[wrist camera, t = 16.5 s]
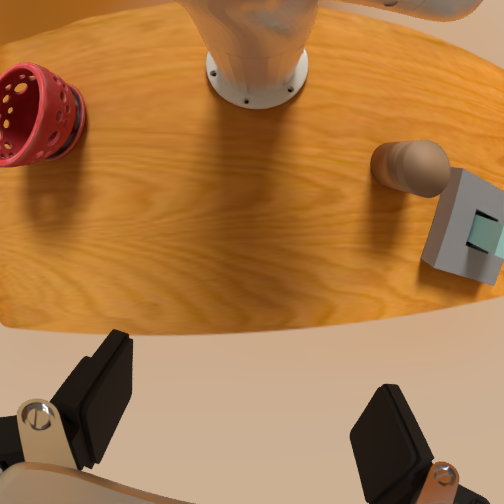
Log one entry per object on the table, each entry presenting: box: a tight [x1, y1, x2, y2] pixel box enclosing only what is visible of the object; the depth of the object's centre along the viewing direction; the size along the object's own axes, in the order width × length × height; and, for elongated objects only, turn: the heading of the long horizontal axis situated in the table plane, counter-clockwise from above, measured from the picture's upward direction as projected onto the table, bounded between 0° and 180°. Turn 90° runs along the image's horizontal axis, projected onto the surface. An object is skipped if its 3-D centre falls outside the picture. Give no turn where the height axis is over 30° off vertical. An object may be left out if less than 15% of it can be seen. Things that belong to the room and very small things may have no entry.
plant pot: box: [0, 62, 86, 167], centre depth 30 cm, size 13×13×12 cm
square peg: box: [467, 214, 504, 259], centre depth 33 cm, size 4×4×10 cm
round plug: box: [371, 140, 450, 198], centre depth 32 cm, size 6×6×10 cm
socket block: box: [421, 167, 504, 286], centre depth 36 cm, size 14×14×4 cm
